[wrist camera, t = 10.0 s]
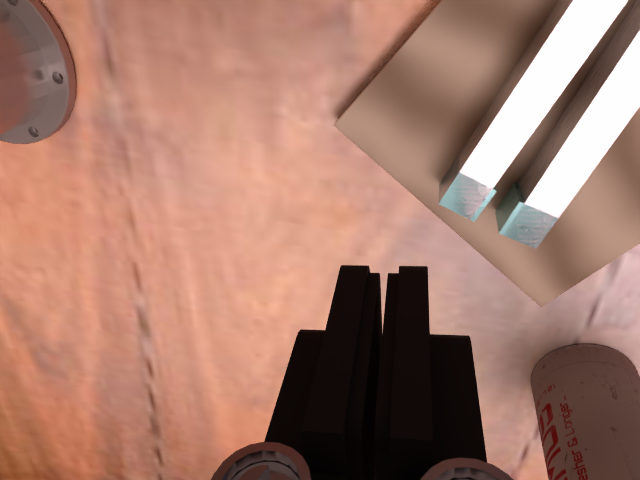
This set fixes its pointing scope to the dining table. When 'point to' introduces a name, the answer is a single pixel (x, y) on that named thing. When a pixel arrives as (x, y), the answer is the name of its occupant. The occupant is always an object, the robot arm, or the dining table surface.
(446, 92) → the maple board
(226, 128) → the dining table surface
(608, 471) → the thermos bottle
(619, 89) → the tongs jaw
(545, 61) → the tongs base
